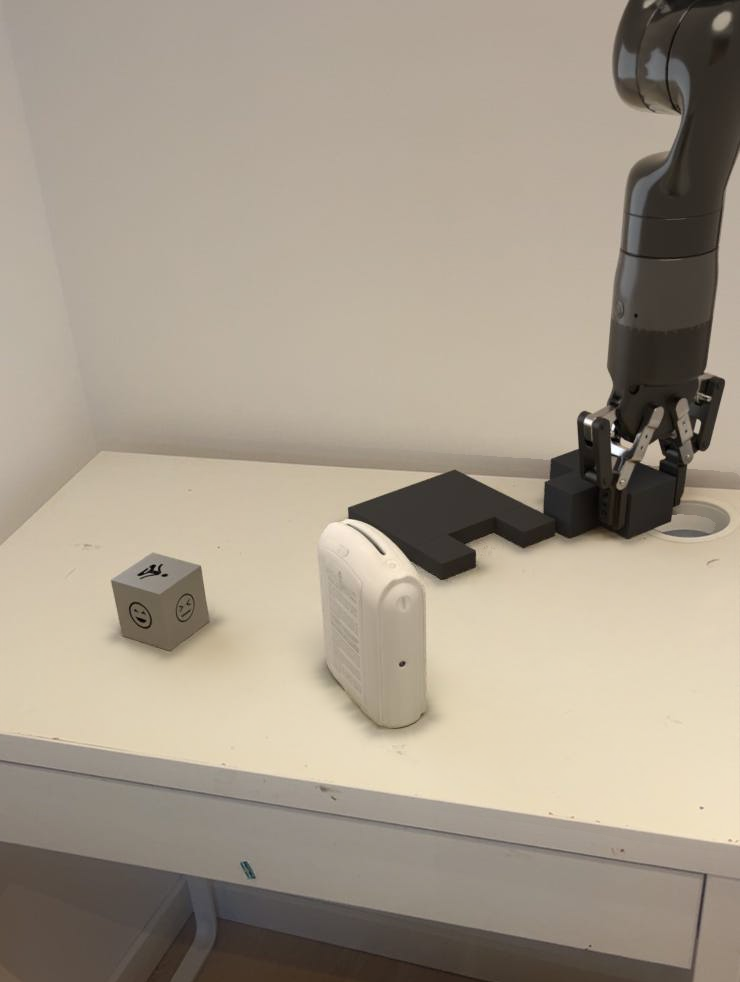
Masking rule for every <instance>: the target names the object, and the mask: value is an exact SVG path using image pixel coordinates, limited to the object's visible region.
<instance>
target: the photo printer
mask: <svg viewBox="0 0 740 982" xmlns="http://www.w3.org/2000/svg"><path fill="white" fill-rule="evenodd" d="M411 562H412V561H411V560H409V559H408V558H407V557H406V556H405V555H404V553H403V552H402V551H401V550H400V549H399V548H398V547H397V546H396V545H395V544H394V543H393V542H392V541H391V540H390V539H389V538H388V537H387V536H385V535H384V534H383V533H382V532H380V531H379V530H377V529H376V528H374V527H372V526H370V525H368V524H366V523H364V522H361V521H357V520H352V519H348V518H345V519H343V520H342V521H339V522H337V521H336V522H335V521H334V522H331V523H329V524H328V525H327V526H326V527H325V528H324V530H323V531H322V533H321V535H320V537H319V541H318V544H317V565H318V575H319V588H320V590H319V591H320V602H321V614H322V615H321V617H322V629H323V643H324V655H325V661H326V664H327V667H328V670H329V672H330V673H331V674H332V676H333V677H334V678H335V679H336V681H337V682H338V683H339V684H340V686H341V687H342V688H343V689H344V691H345V692H346V693H347V694H348V695H349V696H350V697H351V699H352V700H353V701H354V702H355V703H356V704H357V705H358V707H360V709H361V710H362V712H363V713H365V714H366V716H368V717H369V718H370V719H371V720H372V722H374V723H375V724H377V725H378V726H379V727H383V726H384V727H386V728H388V729H397V728H403V727H407V726H409V725H411V724H413V723H415V722H417V721H418V720H419V719H420V718H421V715H422V714H424V713H425V712H426V709H427V701H428V700H427V698H428V697H427V693H428V692H427V690H428V688H427V687H428V686H427V684H428V683H427V599H426V598H427V597H426V596H427V595H426V590H425V586H424V584H423V581H422V578H421V576H420V575H419V573H418V572H417V570H416V568H415V567H414V565H413V564H412V563H411Z"/></svg>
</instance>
